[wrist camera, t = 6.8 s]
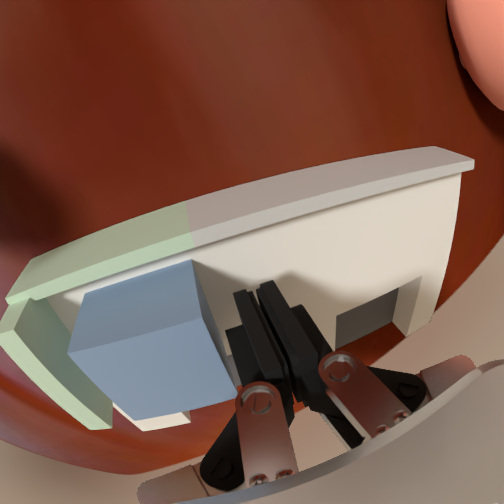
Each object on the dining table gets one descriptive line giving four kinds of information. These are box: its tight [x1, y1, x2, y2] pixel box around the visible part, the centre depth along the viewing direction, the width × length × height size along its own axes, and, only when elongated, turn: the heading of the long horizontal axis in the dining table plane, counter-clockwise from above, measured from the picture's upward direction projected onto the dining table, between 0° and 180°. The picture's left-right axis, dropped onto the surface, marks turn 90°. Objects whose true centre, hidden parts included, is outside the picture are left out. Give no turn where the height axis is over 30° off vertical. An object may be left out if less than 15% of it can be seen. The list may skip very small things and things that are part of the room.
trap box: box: [0, 146, 474, 431], centre depth 14 cm, size 25×14×6 cm, turn 101°
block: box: [67, 259, 238, 421], centre depth 10 cm, size 5×5×4 cm
